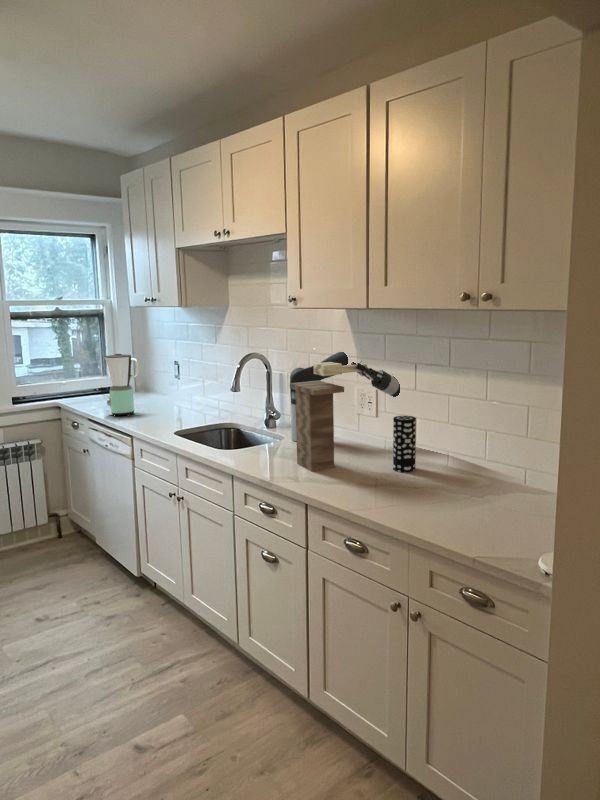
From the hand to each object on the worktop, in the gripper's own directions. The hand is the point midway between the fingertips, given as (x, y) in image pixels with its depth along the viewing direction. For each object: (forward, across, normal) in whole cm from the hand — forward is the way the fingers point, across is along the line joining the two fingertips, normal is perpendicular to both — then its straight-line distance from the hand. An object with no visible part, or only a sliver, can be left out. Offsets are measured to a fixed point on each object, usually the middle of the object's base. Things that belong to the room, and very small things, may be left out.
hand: (354, 364), depth 236 cm
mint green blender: (+36, -149, +65) cm, 166 cm away
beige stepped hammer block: (+4, 0, +5) cm, 6 cm away
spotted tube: (-26, +22, +30) cm, 45 cm away
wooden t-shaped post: (-4, 0, +42) cm, 42 cm away
